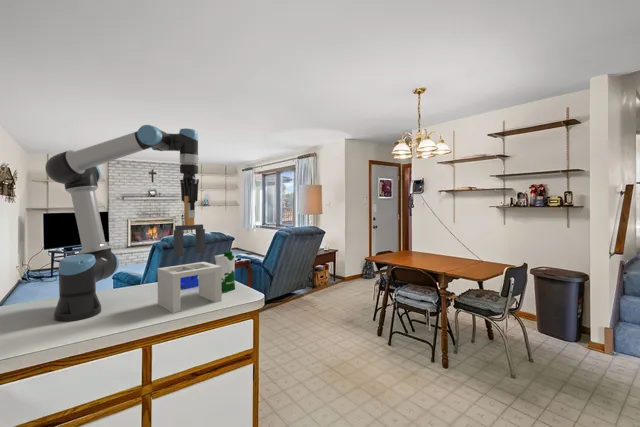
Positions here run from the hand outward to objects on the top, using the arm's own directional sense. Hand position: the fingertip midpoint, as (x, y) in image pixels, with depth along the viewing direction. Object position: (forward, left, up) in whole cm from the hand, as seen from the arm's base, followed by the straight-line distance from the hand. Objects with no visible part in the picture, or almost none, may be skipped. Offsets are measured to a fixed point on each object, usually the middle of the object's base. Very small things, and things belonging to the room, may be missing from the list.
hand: (189, 217), depth 144 cm
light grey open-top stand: (0, 0, -39) cm, 39 cm away
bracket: (+17, +27, -39) cm, 51 cm away
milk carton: (+22, +7, -39) cm, 45 cm away
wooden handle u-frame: (0, 0, -17) cm, 17 cm away
